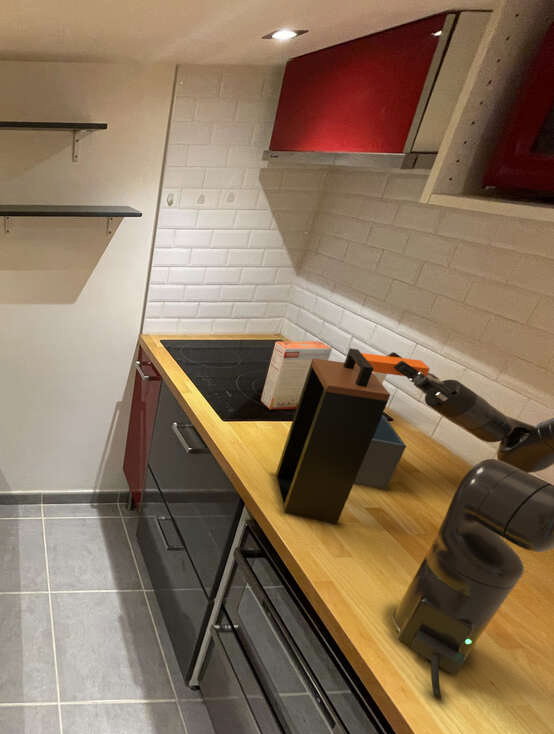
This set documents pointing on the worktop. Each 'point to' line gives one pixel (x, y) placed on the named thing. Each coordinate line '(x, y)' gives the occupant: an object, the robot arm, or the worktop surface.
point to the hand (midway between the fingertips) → (393, 360)
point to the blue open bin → (381, 457)
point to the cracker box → (290, 372)
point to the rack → (329, 436)
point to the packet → (393, 364)
